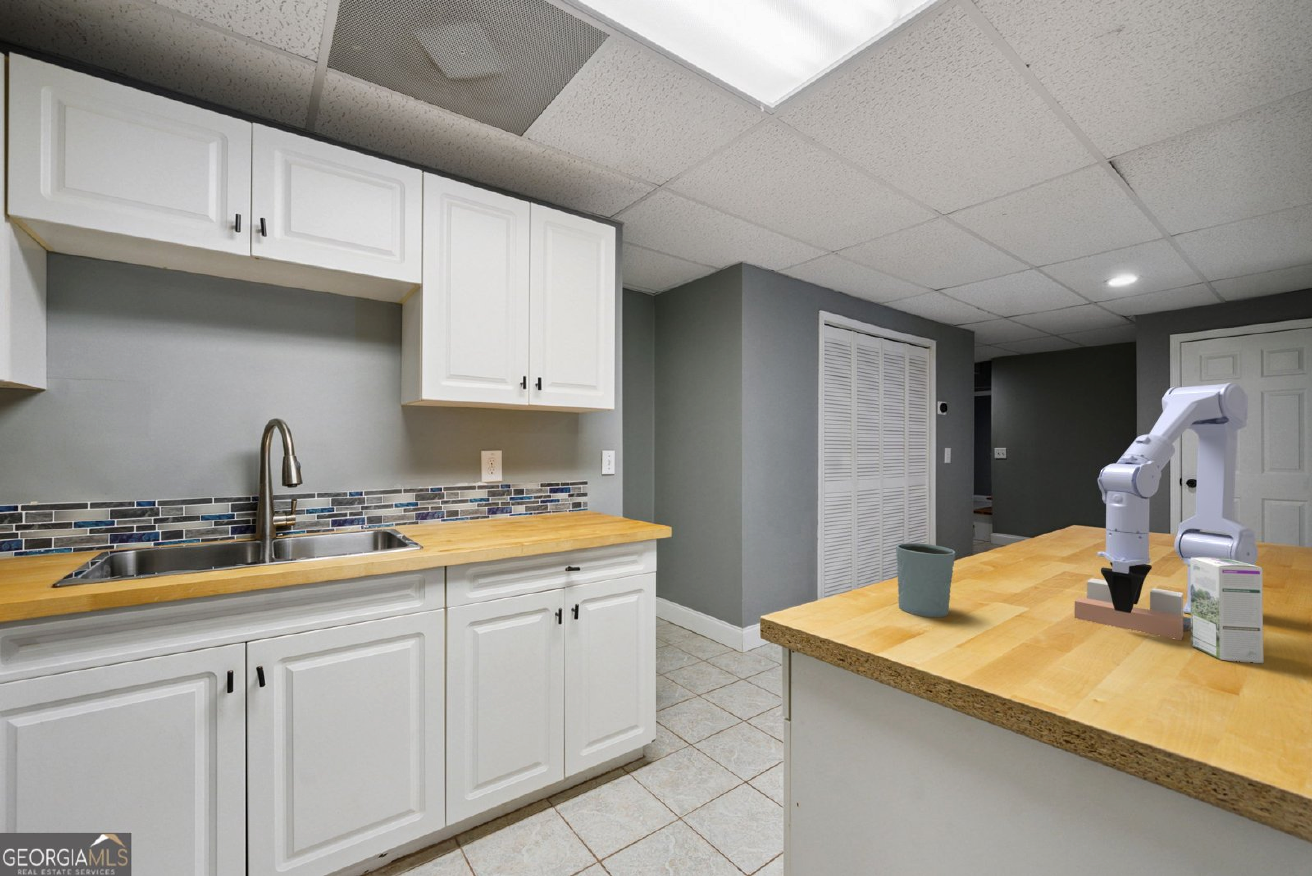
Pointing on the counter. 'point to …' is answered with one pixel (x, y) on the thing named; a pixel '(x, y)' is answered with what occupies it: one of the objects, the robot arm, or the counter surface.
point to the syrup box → (1227, 609)
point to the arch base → (1158, 599)
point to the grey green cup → (924, 578)
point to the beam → (1130, 618)
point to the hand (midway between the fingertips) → (1126, 607)
